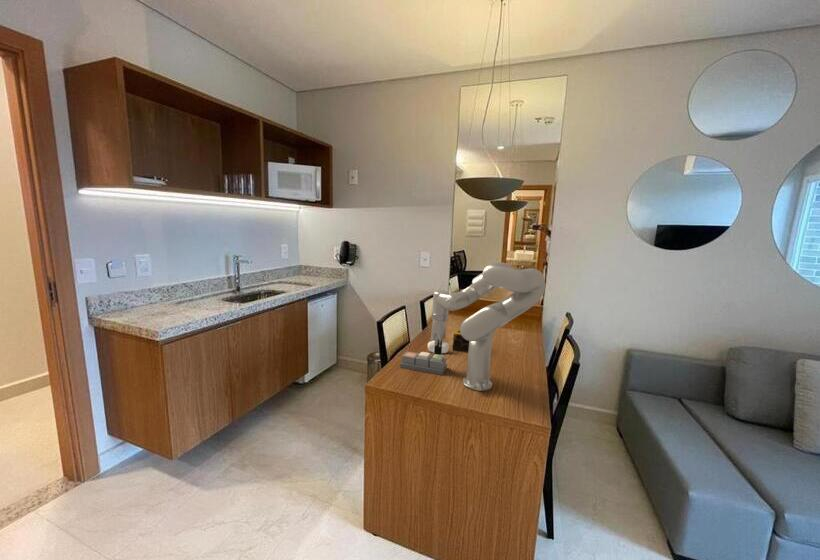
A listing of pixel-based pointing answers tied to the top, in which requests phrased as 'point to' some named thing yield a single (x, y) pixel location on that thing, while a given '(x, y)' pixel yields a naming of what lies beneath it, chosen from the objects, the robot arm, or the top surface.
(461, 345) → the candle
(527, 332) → the top surface
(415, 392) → the top surface
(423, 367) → the button board
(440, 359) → the sage button
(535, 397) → the top surface
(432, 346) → the bust
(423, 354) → the cream button
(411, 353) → the terracotta button
